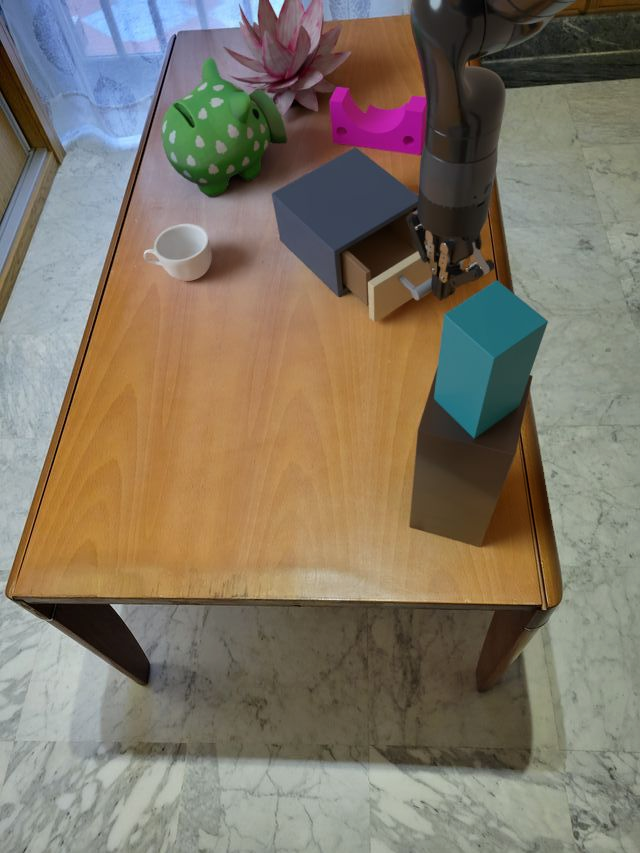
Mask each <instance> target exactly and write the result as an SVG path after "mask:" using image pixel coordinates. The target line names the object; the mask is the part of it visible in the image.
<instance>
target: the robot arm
mask: <svg viewBox="0 0 640 853" xmlns="http://www.w3.org/2000/svg"><path fill="white" fill-rule="evenodd" d="M577 2H579V0H411V2H410V9H409V19H410V28H411V34H412V37H413V41H414V45H415V49H416V53H417V57H418V61H419V66H420V71H421V77H422V82H423V88H424V94H425V97H426V105H427V108H426V121H425V137H424V145H423V149H422V152H421V154H420V161H419V162H420V163H419V177H418V192H417V195H418V208H417V210H416V211H415V212H413V213H411V214H410V215H408V216H406V222H407V224H408V227H409V229H410V232H411V234H412V237H413V240H414V242H415V245H416V247H417V250H418V252H419V255H420V257H421V259H422V261H423V262H425V263H426V262H428V263H429V264H430V271H431V272H432V281H431V286H432V292H431V294H432V295H433V296H435V298H436V299H437V300H439V301H443V300H446V299H448V298H449V297H451V296H452V295H454V294H455V293H456V288H459V287H462V286H465V285H467V284H470V283H472V282H475V281H478V280H479V279H481V278H482V277H484V276H485V275H487V274H488V273H491V271H493V270H494V269H495V268H496V265H495V263H494V261H493V260H492V259H489V258H488V259H487V260H485V258H484V256H483V254H482V252H481V249H482V246H483V240H482V235H481V233H482V230H483V229H484V228H483V227H484V226H485V224H486V221H487V220H488V216H489V210H490V205H491V200H492V195H493V190H494V189H493V188H494V185H495V184H494V183H495V177H496V172H497V167H498V166H497V165H498V157H499V156H498V155H499V154H498V152H499V151H498V149H499V141H500V136H501V135H500V134H501V131H502V124H503V118H504V113H505V107H506V98H507V92H506V85H505V84H504V81H503V80H502V78H501V77H500V76H499V75H498V74H497V73H496V72H494V71H493V70H491V69H488V68H486V67H483V66H482V67H481V66H476V65H467V63H469V62H470V61H474V60H477V59H480V58H483V57H486V56H489V55H492V54H495V53H498V52H502V51H505V50H507V49H510V48H513V47H515V46H518V45H520V44H522V43H525V42H526V41H528V40H530V39H531V38H533V37H535V36H537V35H538V34H539V33H541V31H542V30H543V29H545V27H547V25H548V24H549V23H550V22H551V21H552V19H554V18H555V16H556V15H557V14H558V13H560V12H562V11H563V10H566V9H567V8H569V7H570V6H572V5H573V4H575V3H577ZM425 240H427V249H426V247H425V244H424V242H425ZM468 258H469V262H468V263H467V266H466V267H465V269H463V266H464V262H466V260H467V259H468Z"/></svg>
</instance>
